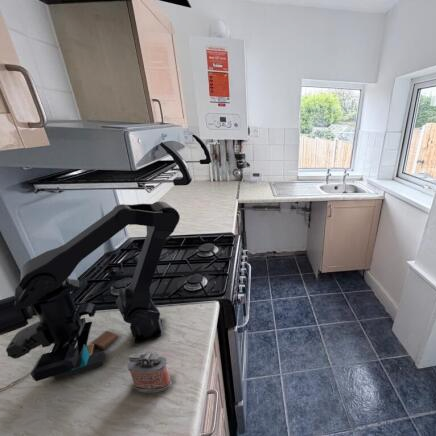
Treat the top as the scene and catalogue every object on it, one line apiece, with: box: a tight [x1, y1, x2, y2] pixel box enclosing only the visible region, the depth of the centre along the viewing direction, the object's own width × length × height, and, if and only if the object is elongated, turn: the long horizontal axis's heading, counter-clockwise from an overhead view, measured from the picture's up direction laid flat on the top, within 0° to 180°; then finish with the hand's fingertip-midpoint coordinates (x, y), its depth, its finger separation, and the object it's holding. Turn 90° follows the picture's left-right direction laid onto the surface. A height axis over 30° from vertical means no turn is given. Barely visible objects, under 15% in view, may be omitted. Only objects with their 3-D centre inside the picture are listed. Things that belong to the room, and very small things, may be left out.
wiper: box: [53, 344, 106, 381], centre depth 56 cm, size 9×3×6 cm, turn 116°
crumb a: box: [86, 343, 96, 356], centre depth 60 cm, size 4×4×1 cm
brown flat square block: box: [91, 330, 119, 350], centre depth 64 cm, size 4×4×1 cm
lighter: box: [126, 351, 172, 393], centre depth 52 cm, size 8×3×10 cm, turn 92°
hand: (79, 361), depth 57 cm, fingers closed on wiper, 3 cm apart
